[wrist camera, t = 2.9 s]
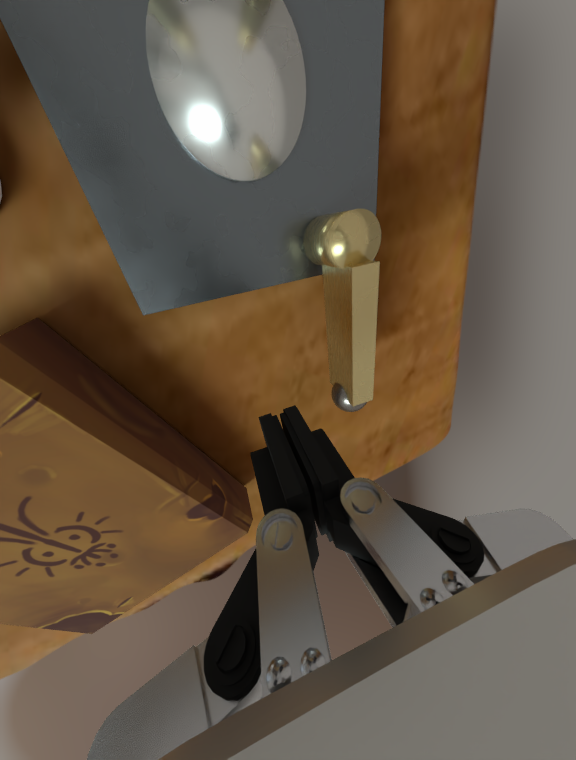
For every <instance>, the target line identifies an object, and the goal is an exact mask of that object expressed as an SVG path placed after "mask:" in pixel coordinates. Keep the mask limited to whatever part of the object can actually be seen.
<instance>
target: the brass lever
mask: <svg viewBox="0 0 576 760" xmlns="http://www.w3.org/2000/svg"><path fill="white" fill-rule="evenodd" d="M380 243H381V228H380V224H379V221H378V219H377V218H376V216H375V215H374V214H373V213H372V212H371V211H369V210H367V209H354V210H348V211H343V212H338V213H332V214H327V215H322V216H318V217H316V218H315V219H313V220H312V221H311V222H310V223H309V225H308V226H307V228H306V231H305V234H304V239H303V246H304V251H305V253H306V255H307V257H308V259H309V260H310V261H311V262H313V263H314V264H317V265H321V266H322V270H323V285H324V300H325V315H326V330H327V345H328V360H329V375H330V383H331V384H332V385H333V388H332V399H333V401H334V403H335V405H336V406H337V407H338V408H340V409H341V410H343V411H347V412H354V411H358V410H360V409H361V408H363V407H364V406H365V405H366V403H367V402H368V401H370V400H373V386H374V366H375V346H376V326H377V306H378V286H379V266H380V261H373V259H374V258H375V256H376V254H377V252H378V250H379V247H380Z"/></svg>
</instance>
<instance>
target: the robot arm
mask: <svg viewBox="0 0 576 760" xmlns="http://www.w3.org/2000/svg"><path fill="white" fill-rule="evenodd" d="M283 411H284V413H281V414H280V418H281V422H282V427H283V429H282V427H281V424H280V422H279V420H278V417H277V415H275V416H272V415H271V413H270V414H267V415H264V416H261V417H259V420H260V424H261V427H262V431H263V434H264V438H265V441H266V445H267V447H266V448H263V449H260V450H257V451H254V452H251V453H250V454H251V459H252V463H253V467H254V471H255V476H256V480H257V484H258V489H259V493H260V497H261V501H262V506H263V510H264V514H265V516H264V517H263V519H262V520H261V521H260V523H259V526H258V528H257V533H256V549H255V551H254V553H253V555H252V557H251V558H250V560H249V562H248V564H247V566H246V568H245V570H244V571H243V573H242V575H241V577H240V579H239V581H238V583H237V584H236V586H235V588H234V590H233V592H232V594H231V596H230V598H229V599H228V601H227V603H226V605H225V607H224V609H223V610H222V612H221V614H220V616H219V618H218V620H217V621H216V623H215V625H214V627H213V629H212V631H211V633H210V636H209V637H208V638H206V639H205V640H204V641H203V642H201V643H200V644H199V645H198V646H196V647H195V646H192V647H191V648H189V649H188V650H187V651H186V652H185V653H183V654H182V655H181V656H180V657H178V658H177V659H176V660H175V661H173V662H172V663H171V664H170V665H168V666H167V667H166V668H165V669H163V670H162V671H161V672H160V673H159V674H157V675H156V676H155V677H154V678H152V679H151V680H150V681H148V682H147V683H146V684H145V685H143V686H142V687H141V688H140V689H139V690H137V691H136V692H135V693H134V694H132V695H131V696H130V697H129V698H127V699H126V700H125V701H124V702H122V703H121V704H120V705H119V706H118V707H117V708H116V709H115V710H114V711H113V712H112V713H111V714H110V715H109V716H108V717H107V718H106V720H105V721H104V723H103V725H102V726H101V728H100V729H99V731H98V733H97V734H96V736H95V739H94V741H93V744H92V746H91V749H90V751H89V754H88V758H87V760H576V539H573V538H572V537H571V536H570V535H569V534H568V533H567V532H566V531H565V530H564V529H563V528H562V527H561V526H560V525H559V524H558V523H556V522H555V521H554V520H552V519H551V518H550V517H548V516H546V515H544V514H542V513H541V512H538V511H535V510H531V509H516V510H509V511H502V512H496V513H489V514H482V515H475V516H468V517H465V519H464V520H459V521H457V520H455V519H453V518H450V517H447V516H444V515H441V514H438V513H435V512H432V511H428V510H425V509H423V508H420V507H416V506H414V505H411V504H407V503H404V502H401V501H398V500H395V499H392V498H391V497H390V496H389V495H388V494H387V493H386V492H385V491H384V490H383V489H382V488H381V487H380V486H379V485H378V484H377V483H375V482H374V481H372V480H370V479H366V478H354V476H353V475H352V473H351V472H350V470H349V468H348V467H347V465H346V464H345V462H344V461H343V459H342V458H341V456H340V455H339V453H338V452H337V450H336V449H335V447H334V446H333V444H332V443H331V441H330V440H329V438H328V437H327V435H326V433H325V432H324V431H323V429H318V430H315V431H312V432H311V431H310V429H309V427H308V426H307V424H306V422H305V421H304V419H303V417H302V415H301V414H300V412H299V410H298V409H297V407H296V406H292V407H289V408H286V409H283ZM314 519H315V520H314ZM315 521H316V524H317V526H318V529H319V531H320V533H321V535H324V534H327V537H328V539H329V541H334V544H335V546H336V548H339V549H341V550H343V551H345V552H346V554H347V556H348V558H349V559H350V561H351V563H352V564H353V566H354V567H355V569H356V570H357V572H358V574H359V575H360V577H361V578H362V580H363V581H364V583H365V585H366V586H367V588H368V589H369V591H370V593H371V594H372V596H373V597H374V599H375V601H376V602H377V604H378V605H379V607H380V608H381V610H382V612H383V613H384V615H385V616H386V618H387V619H388V621H389V623H390V624H391V626H392V627H393V628H392V629H390V630H388V631H386V632H384V633H382V634H380V635H379V636H377V637H375V638H373V639H371V640H369V641H368V642H366V643H364V644H362V645H360V646H358V647H356V648H354V649H353V650H351V651H349V652H347V653H345V654H343V655H341V656H340V657H338V658H336V659H334V660H331V655H330V650H329V645H328V641H327V635H326V631H325V626H324V621H323V616H322V611H321V606H320V602H319V597H318V592H317V587H316V582H315V577H314V573H313V571H314V568H315V565H316V562H317V559H318V556H319V552H318V546H317V541H316V538H317V531H316V526H315Z"/></svg>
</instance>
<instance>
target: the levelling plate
mask: <svg viewBox="0 0 576 760" xmlns="http://www.w3.org/2000/svg"><path fill="white" fill-rule="evenodd" d="M0 19H1V21H2V23H3V25H4V27H5V29H6V31H7V33H8V35H9V38H10V40H11V42H12V44H13V46H14V48H15V50H16V52H17V54H18V56H19V58H20V60H21V62H22V65H23V67H24V69H25V71H26V73H27V75H28V77H29V79H30V81H31V83H32V85H33V87H34V89H35V92H36V94H37V96H38V98H39V100H40V102H41V104H42V106H43V108H44V110H45V112H46V114H47V116H48V119H49V121H50V123H51V125H52V127H53V129H54V131H55V133H56V135H57V137H58V139H59V141H60V143H61V146H62V148H63V150H64V152H65V154H66V156H67V158H68V160H69V162H70V164H71V166H72V168H73V170H74V172H75V175H76V177H77V179H78V181H79V183H80V185H81V187H82V189H83V191H84V193H85V195H86V197H87V199H88V202H89V204H90V206H91V208H92V210H93V212H94V214H95V216H96V218H97V220H98V222H99V224H100V226H101V229H102V231H103V233H104V235H105V237H106V239H107V241H108V243H109V245H110V247H111V249H112V251H113V253H114V256H115V258H116V260H117V262H118V264H119V266H120V268H121V270H122V272H123V274H124V276H125V278H126V280H127V283H128V285H129V287H130V289H131V291H132V293H133V295H134V297H135V299H136V301H137V303H138V305H139V307H140V309H141V312H142V314H143V315H147V314H151V313H155V312H160V311H164V310H169V309H173V308H177V307H182V306H186V305H190V304H195V303H199V302H204V301H208V300H212V299H217V298H221V297H226V296H230V295H234V294H239V293H243V292H247V291H252V290H256V289H261V288H265V287H269V286H274V285H278V284H282V283H287V282H291V281H296V280H300V279H304V278H309V277H313V276H317V275H322V274H323V270H322V266H321V265H317V264H314V263H313V262H311V261H310V260H309V259H308V257H307V255H306V253H305V251H304V246H303V239H304V234H305V231H306V228H307V226H308V225H309V223H310V222H311V221H312V220H313V219H315V218H316V217H318V216H322V215H327V214H332V213H338V212H343V211H348V210H354V209H367V210H369V211H371V212H372V213H373V214H374V215H375V216H376V205H377V179H378V154H379V128H380V102H381V77H382V51H383V26H384V0H0ZM373 261H374V259H373Z"/></svg>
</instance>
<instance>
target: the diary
mask: <svg viewBox="0 0 576 760" xmlns="http://www.w3.org/2000/svg"><path fill="white" fill-rule="evenodd" d="M252 520H253V518H252V513H251V508H250V503H249V498H248V494H247V489H246V487H244V486H243V485H242V484H241V483H240V482H238V481H237V480H236V479H235V478H233V477H232V476H231V475H230V474H229V473H227V472H226V471H225V470H224V469H222V468H221V467H220V466H219V465H217V464H216V463H215V462H214V461H213V460H211V459H210V458H209V457H208V456H206V455H205V454H204V453H203V452H202V451H200V450H199V449H198V448H197V447H195V446H194V445H193V444H192V443H191V442H189V441H188V440H187V439H186V438H184V437H183V436H182V435H181V434H179V433H178V432H177V431H176V430H175V429H173V428H172V427H171V426H170V425H168V424H167V423H166V422H165V421H164V420H162V419H161V418H160V417H159V416H157V415H156V414H155V413H154V412H152V411H151V410H150V409H149V408H148V407H146V406H145V405H144V404H143V403H141V402H140V401H139V400H138V399H137V398H135V397H134V396H133V395H132V394H130V393H129V392H128V391H127V390H126V389H124V388H123V387H122V386H121V385H119V384H118V383H117V382H116V381H114V380H113V379H112V378H111V377H110V376H108V375H107V374H106V373H105V372H103V371H102V370H101V369H100V368H99V367H97V366H96V365H95V364H94V363H92V362H91V361H90V360H89V359H88V358H86V357H85V356H84V355H83V354H81V353H80V352H79V351H78V350H76V349H75V348H74V347H73V346H72V345H70V344H69V343H68V342H67V341H65V340H64V339H63V338H62V337H61V336H59V335H58V334H57V333H56V332H54V331H53V330H52V329H51V328H50V327H48V326H47V325H46V324H45V323H43V322H42V321H41V320H40V319H38V318H36V319H34V320H32V321H30V322H28V323H26V324H24V325H22V326H20V327H18V328H16V329H14V330H12V331H10V332H8V333H6V334H4V335H2V336H0V624H6V625H16V626H25V627H34V628H43V629H52V630H62V631H71V632H80V633H89V634H92V633H94V632H96V631H97V630H99V629H100V628H102V627H103V626H105V625H106V624H108V623H110V622H111V621H113V620H114V619H116V618H117V617H119V616H120V615H122V614H123V613H125V612H126V611H128V610H130V609H131V608H133V607H134V606H136V605H137V604H139V603H140V602H142V601H143V600H145V599H146V598H148V597H150V596H151V595H153V594H154V593H156V592H157V591H159V590H160V589H162V588H163V587H165V586H167V585H168V584H170V583H171V582H173V581H174V580H176V579H177V578H179V577H180V576H182V575H183V574H185V573H187V572H188V571H190V570H191V569H193V568H194V567H196V566H197V565H199V564H200V563H202V562H203V561H205V560H207V559H208V558H210V557H211V556H213V555H214V554H216V553H217V552H219V551H220V550H222V549H224V548H225V547H227V546H228V545H230V544H231V543H233V542H234V541H236V540H237V539H239V538H240V537H242V536H244V535H245V534H247V533H248V531H249V528H250V526H251V523H252Z"/></svg>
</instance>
